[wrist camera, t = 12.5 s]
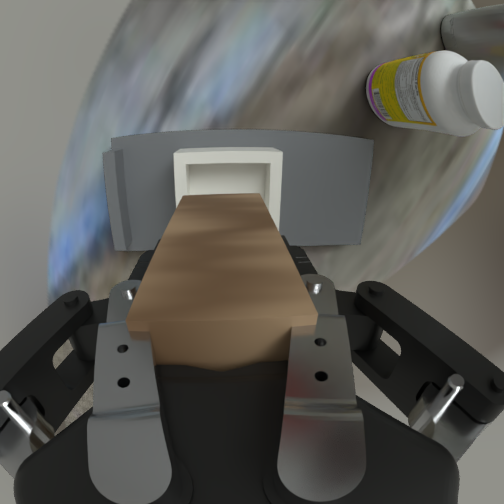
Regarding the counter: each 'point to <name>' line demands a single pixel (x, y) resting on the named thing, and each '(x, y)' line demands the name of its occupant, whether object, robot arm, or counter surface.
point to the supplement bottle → (438, 93)
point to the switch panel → (289, 142)
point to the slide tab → (230, 173)
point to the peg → (221, 287)
